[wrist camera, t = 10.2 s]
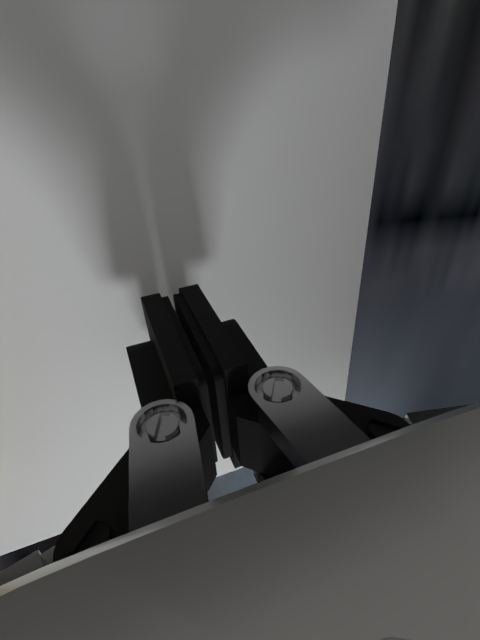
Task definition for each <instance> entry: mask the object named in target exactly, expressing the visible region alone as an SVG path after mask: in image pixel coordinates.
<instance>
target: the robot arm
mask: <svg viewBox="0 0 480 640" xmlns="http://www.w3.org/2000/svg"><path fill="white" fill-rule="evenodd" d="M173 300H174V305H175V310H174V308H173V305H172V303H171V301H170V299H169V297H168V296H165V297H161V295H160V293H156V294H152V295H148V296H143V297H141V302H142V307H143V311H144V316H145V320H146V325H147V329H148V334H149V338H150V341H147V342H143V343H139V344H135V345H132V346H128V347H126V350H127V354H128V358H129V362H130V366H131V370H132V374H133V378H134V382H135V385H136V389H137V393H138V397H139V401H140V405H141V409H140V410H139V411H138V412H137V413H136V414H135V415H134V417H133V418H132V420H131V422H130V427H129V449H128V450H127V451H126V452H125V454H124V455H123V456H122V457H121V459H120V460H119V461H118V463H117V464H116V465H115V466H114V468H113V469H112V470H111V471H110V473H109V474H108V475H107V476H106V478H105V479H104V480H103V482H102V483H101V484H100V485H99V487H98V488H97V489H96V490H95V492H94V493H93V494H92V495H91V497H90V498H89V499H88V501H87V502H86V503H85V504H84V506H83V507H82V508H81V509H80V511H79V512H78V513H77V514H76V516H75V517H74V518H73V519H72V521H71V522H70V523H69V525H68V526H67V527H66V528H65V530H64V531H63V533H62V534H61V536H60V537H59V539H58V541H57V542H56V546H54V547H52V548H51V549H49V550H47V551H46V552H44V553H42V554H41V553H40V552H39V550H37V551H35V552H34V553H32V554H30V555H29V556H27V557H25V558H23V559H22V560H20V561H18V562H17V563H15V564H13V565H12V566H10V567H8V568H6V569H5V570H3V571H1V572H0V640H480V402H478V403H475V404H471V405H464V406H456V407H449V408H442V409H434V410H427V411H420V412H413V413H406V415H405V418H401V417H399V416H397V415H395V414H392V413H389V412H386V411H382V410H378V409H374V408H370V407H366V406H363V405H359V404H355V403H351V402H347V401H343V400H339V399H335V398H331V397H328V396H324V395H323V394H322V393H321V392H320V391H319V390H318V389H317V388H316V387H315V386H314V385H313V384H312V383H311V382H310V381H308V380H307V379H306V378H305V377H304V376H303V375H302V374H301V373H299V372H298V371H296V370H294V369H292V368H289V367H283V366H270V367H268V366H267V365H266V364H265V362H264V361H263V359H262V358H261V356H260V355H259V353H258V352H257V350H256V349H255V347H254V346H253V344H252V343H251V342H250V340H249V339H248V337H247V336H246V334H245V333H244V331H243V330H242V328H241V327H240V325H239V324H238V323H237V321H236V320H235V319H230V320H227V321H223V322H221V321H220V319H219V317H218V316H217V314H216V313H215V311H214V309H213V308H212V306H211V305H210V303H209V301H208V300H207V298H206V297H205V295H204V293H203V292H202V290H201V289H200V287H199V285H198V284H195V285H191V286H186V287H182V288H179V293H178V294H174V295H173ZM175 311H176V312H175ZM215 441H216V443H215ZM216 444H217V446H218V449H219V451H220V453H221V456H222V458H223V459H226V458H229V457H230V459H231V461H232V463H233V466H234V468H238V467H241V466H243V467H246V468H249V469H252V470H253V471H254V476H255V478H256V480H257V482H258V483H256V484H254V485H251V486H248V487H246V488H243V489H240V490H238V491H235V492H233V493H230V494H227V495H225V496H222V497H219V498H217V499H214V500H212V501H209V500H208V494H207V492H208V490H209V489H210V487H211V485H212V483H213V481H214V479H215V478H216V476H217V470H216V463H215V462H218V458H217V450H216Z"/></svg>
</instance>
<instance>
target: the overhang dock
mask: <svg viewBox="0 0 480 640" xmlns="http://www.w3.org/2000/svg"><path fill="white" fill-rule="evenodd" d="M397 4H398V0H0V556H1V555H4V554H6V553H9V552H12V551H15V550H17V549H20V548H23V547H26V546H28V545H31V544H34V543H37V542H39V541H42V540H45V539H47V538H50V537H53V536H56V535H58V534H61V533H63V531H64V530H65V528H66V527H67V526H68V525H69V523H70V522H71V521H72V519H73V518H74V517H75V516H76V514H77V513H78V512H79V511H80V509H81V508H82V507H83V506H84V504H85V503H86V502H87V501H88V499H89V498H90V497H91V495H92V494H93V493H94V492H95V490H96V489H97V488H98V487H99V485H100V484H101V483H102V482H103V480H104V479H105V478H106V476H107V475H108V474H109V473H110V471H111V470H112V469H113V468H114V466H115V465H116V464H117V463H118V461H119V460H120V459H121V457H122V456H123V455H124V454H125V452H126V451H127V450H128V449H129V427H130V422H131V420H132V418H133V417H134V415H135V414H136V413H137V412H138V411H139V410H140V409H141V405H140V401H139V397H138V393H137V389H136V385H135V382H134V378H133V374H132V370H131V366H130V362H129V358H128V354H127V350H126V347H128V346H132V345H135V344H139V343H143V342H147V341H150V338H149V334H148V329H147V325H146V320H145V316H144V311H143V307H142V302H141V297H143V296H148V295H152V294H156V293H160V295H161V297H165V296H168V297H169V299H170V301H171V303H172V305H173V308H174V310H175V305H174V300H173V295H174V294H178V293H179V288H182V287H186V286H191V285H195V284H198V285H199V287H200V289H201V290H202V292H203V293H204V295H205V297H206V298H207V300H208V301H209V303H210V305H211V306H212V308H213V309H214V311H215V313H216V314H217V316H218V317H219V319H220V321H221V322H223V321H227V320H230V319H235V320H236V321H237V323H238V324H239V325H240V327H241V328H242V330H243V331H244V333H245V334H246V336H247V337H248V339H249V340H250V342H251V343H252V344H253V346H254V347H255V349H256V350H257V352H258V353H259V355H260V356H261V358H262V359H263V361H264V362H265V364H266V365H267V366H268V367H270V366H283V367H289V368H292V369H294V370H296V371H298V372H299V373H301V374H302V375H303V376H304V377H305V378H306V379H307V380H308V381H310V382H311V383H312V384H313V385H314V386H315V387H316V388H317V389H318V390H319V391H320V392H321V393H322V394H323V395H324V396H328V397H331V398H335V399H339V400H343V401H345V395H346V387H347V380H348V372H349V365H350V357H351V350H352V342H353V335H354V327H355V320H356V312H357V305H358V297H359V290H360V282H361V275H362V267H363V260H364V252H365V245H366V237H367V230H368V222H369V215H370V207H371V200H372V192H373V185H374V177H375V170H376V162H377V155H378V147H379V140H380V132H381V125H382V117H383V110H384V102H385V94H386V87H387V79H388V72H389V64H390V57H391V49H392V42H393V34H394V27H395V19H396V12H397ZM175 312H176V311H175ZM215 443H216V441H215ZM216 450H217V458H218V462H215V463H216V470H217V476H216V477H218V476H221V475H223V474H226V473H229V472H232V471H234V470H237V469H240V468H243V466H241V467H238V468H234V466H233V463H232V461H231V459H230V457H229V458H226V459H223V458H222V456H221V453H220V451H219V449H218V446H217V444H216Z"/></svg>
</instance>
